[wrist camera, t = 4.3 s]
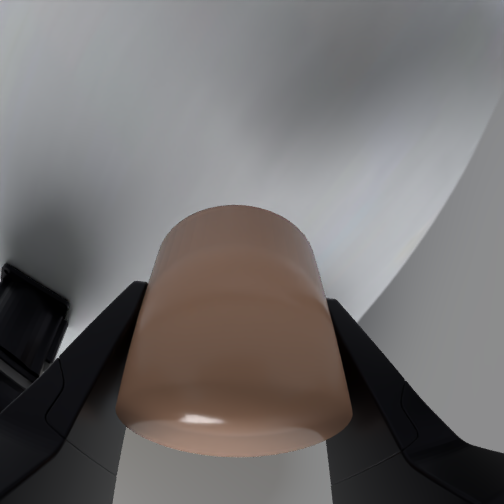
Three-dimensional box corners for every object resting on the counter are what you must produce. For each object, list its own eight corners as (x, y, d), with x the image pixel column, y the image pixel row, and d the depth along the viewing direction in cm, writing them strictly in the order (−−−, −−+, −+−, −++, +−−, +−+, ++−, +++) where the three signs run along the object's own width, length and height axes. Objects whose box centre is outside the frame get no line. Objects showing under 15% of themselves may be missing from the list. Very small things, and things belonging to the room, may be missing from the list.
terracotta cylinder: (132, 284, 10) (92, 422, 6) (214, 170, 7) (183, 340, 3) (249, 340, 12) (252, 463, 8) (347, 263, 9) (395, 409, 5)
